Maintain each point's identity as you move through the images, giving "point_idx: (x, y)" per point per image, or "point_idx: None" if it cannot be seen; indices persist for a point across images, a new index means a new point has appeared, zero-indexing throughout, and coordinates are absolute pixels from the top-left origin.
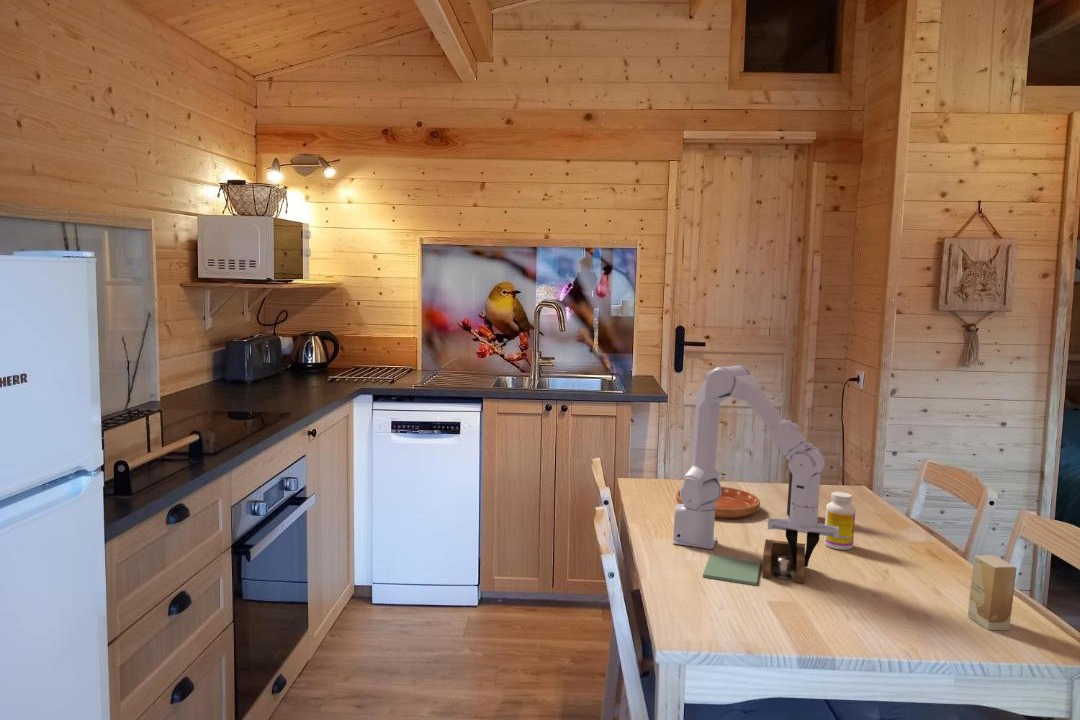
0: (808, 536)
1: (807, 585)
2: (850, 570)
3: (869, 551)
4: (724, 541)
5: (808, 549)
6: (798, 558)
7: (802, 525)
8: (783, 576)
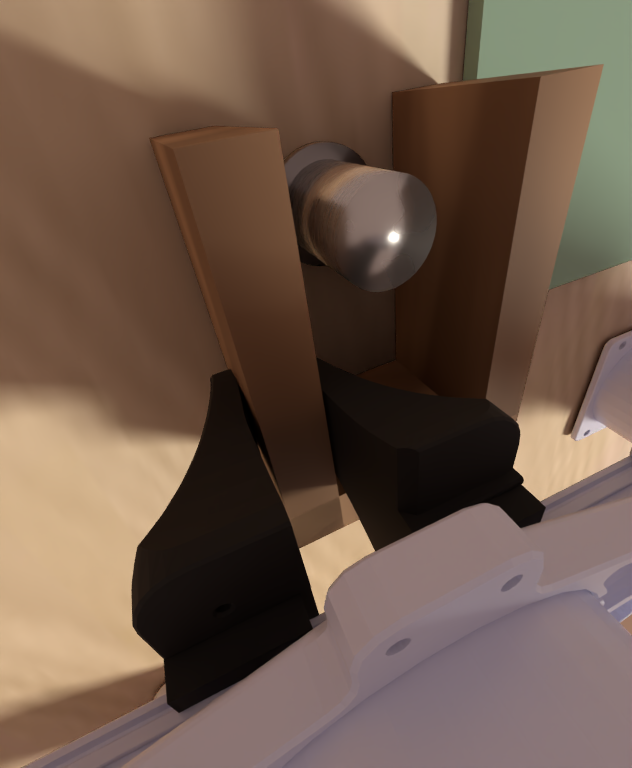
0: (285, 562)
1: (108, 119)
2: (25, 568)
3: (87, 732)
4: (545, 443)
5: (234, 447)
6: (263, 163)
7: (491, 686)
8: (317, 161)
